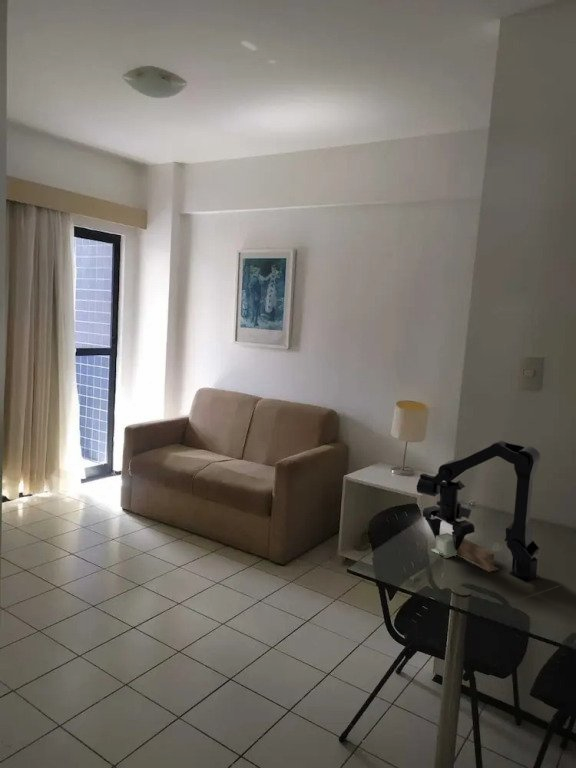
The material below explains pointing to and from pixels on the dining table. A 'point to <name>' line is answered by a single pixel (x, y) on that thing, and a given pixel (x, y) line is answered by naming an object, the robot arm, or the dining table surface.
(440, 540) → the sage block
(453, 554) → the sage pad
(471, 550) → the walnut screen
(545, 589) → the dining table surface
